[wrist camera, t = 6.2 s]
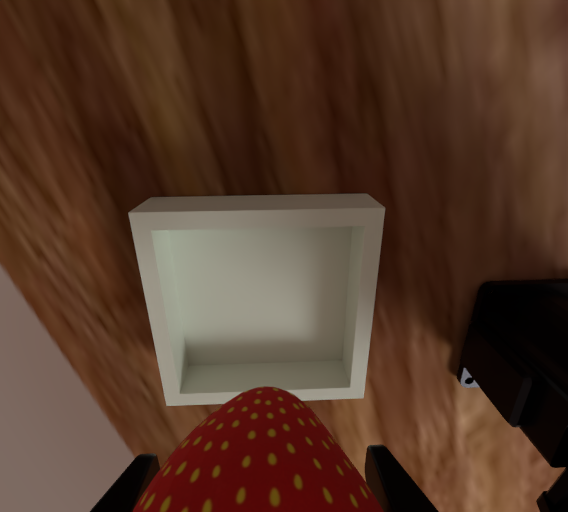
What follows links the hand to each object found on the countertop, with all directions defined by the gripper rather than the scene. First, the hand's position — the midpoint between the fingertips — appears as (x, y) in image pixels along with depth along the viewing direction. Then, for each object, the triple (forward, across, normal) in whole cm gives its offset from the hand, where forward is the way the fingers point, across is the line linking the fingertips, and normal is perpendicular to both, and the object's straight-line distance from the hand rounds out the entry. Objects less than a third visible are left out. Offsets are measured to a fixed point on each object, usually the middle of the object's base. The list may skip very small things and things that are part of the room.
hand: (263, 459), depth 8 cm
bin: (+9, 0, 0) cm, 9 cm away
